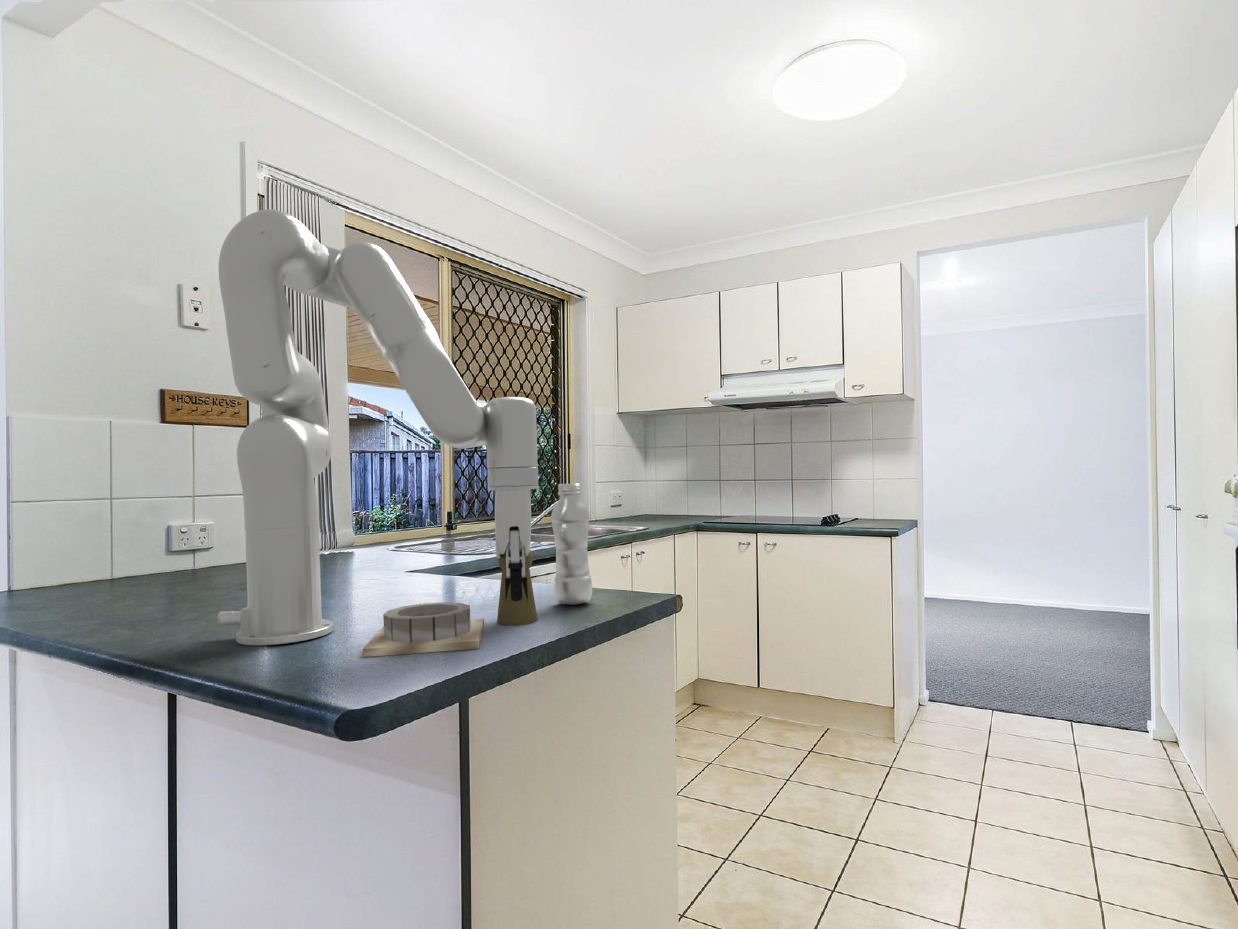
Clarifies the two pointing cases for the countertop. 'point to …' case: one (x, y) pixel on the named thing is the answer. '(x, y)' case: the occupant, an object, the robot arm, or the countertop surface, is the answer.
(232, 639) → the countertop surface
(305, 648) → the countertop surface
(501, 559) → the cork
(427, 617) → the ring collar
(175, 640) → the countertop surface
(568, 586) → the plastic bottle
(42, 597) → the countertop surface
